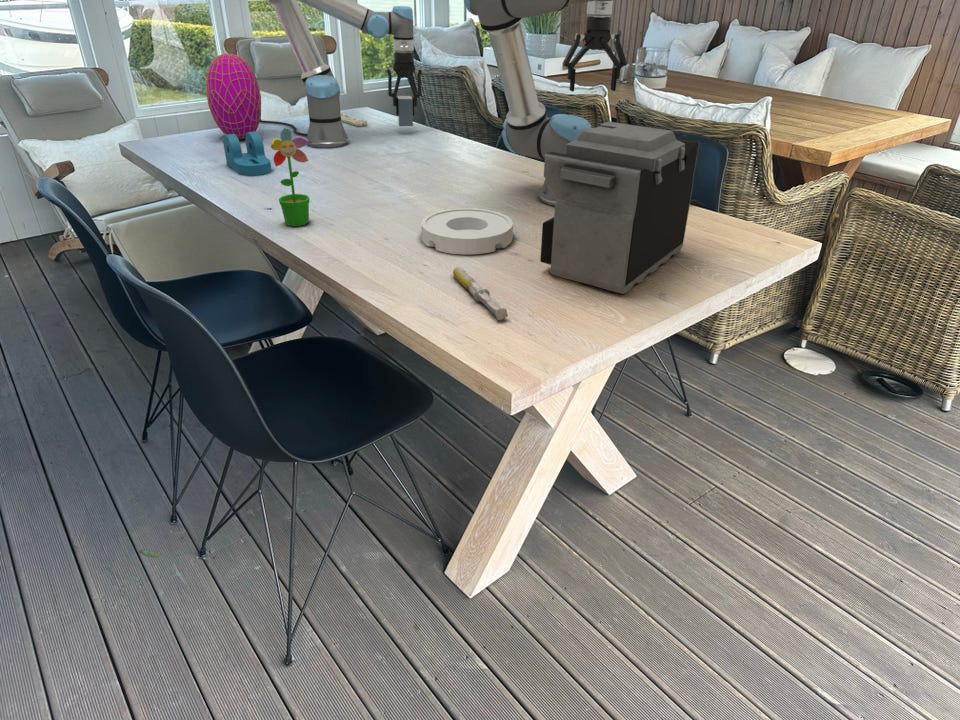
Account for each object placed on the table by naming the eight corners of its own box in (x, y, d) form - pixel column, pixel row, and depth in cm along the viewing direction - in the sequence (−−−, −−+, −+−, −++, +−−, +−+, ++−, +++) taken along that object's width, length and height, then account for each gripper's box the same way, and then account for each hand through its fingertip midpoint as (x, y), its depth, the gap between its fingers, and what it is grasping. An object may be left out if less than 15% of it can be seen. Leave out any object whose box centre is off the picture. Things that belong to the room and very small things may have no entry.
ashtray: (426, 221, 185) (425, 207, 183) (512, 223, 185) (512, 208, 183) (416, 253, 165) (416, 237, 163) (512, 255, 165) (513, 239, 163)
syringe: (449, 274, 155) (449, 263, 153) (465, 272, 156) (464, 260, 154) (490, 323, 135) (491, 310, 133) (508, 319, 136) (508, 307, 134)
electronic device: (606, 230, 180) (619, 111, 165) (687, 249, 169) (709, 123, 154) (532, 275, 155) (539, 139, 140) (621, 301, 144) (640, 156, 128)
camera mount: (227, 164, 233) (221, 132, 227) (257, 160, 238) (252, 129, 233) (244, 176, 220) (239, 143, 215) (276, 172, 225) (271, 139, 220)
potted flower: (284, 229, 179) (270, 130, 166) (277, 220, 185) (263, 124, 172) (319, 224, 183) (308, 127, 170) (311, 215, 188) (300, 121, 176)
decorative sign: (319, 115, 301) (339, 112, 307) (320, 117, 301) (339, 114, 307) (352, 125, 284) (372, 122, 290) (352, 127, 284) (372, 124, 290)
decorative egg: (252, 130, 278) (239, 49, 262) (275, 139, 265) (264, 54, 250) (206, 137, 266) (190, 53, 251) (228, 146, 254) (213, 59, 239)
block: (398, 122, 278) (397, 95, 272) (411, 122, 278) (411, 96, 273) (399, 126, 272) (398, 98, 267) (413, 126, 273) (412, 99, 267)
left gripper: (379, 52, 257) (382, 116, 269) (428, 53, 260) (429, 116, 271) (379, 50, 263) (381, 113, 275) (427, 50, 266) (427, 113, 278)
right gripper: (562, 17, 203) (557, 93, 214) (642, 17, 206) (634, 91, 217) (555, 15, 209) (551, 89, 220) (634, 15, 213) (626, 87, 223)
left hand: (405, 114), depth 273 cm, fingers closed on block, 5 cm apart
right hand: (592, 90), depth 218 cm, fingers open, 13 cm apart
